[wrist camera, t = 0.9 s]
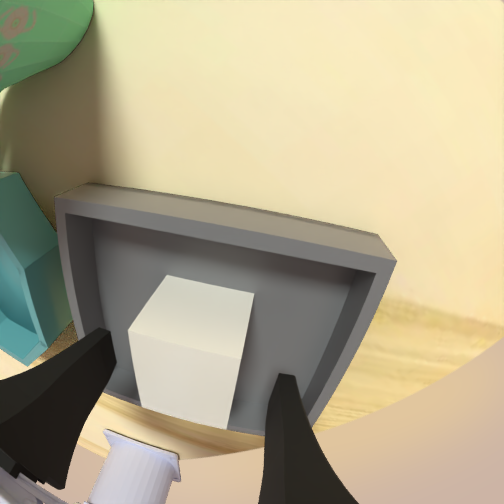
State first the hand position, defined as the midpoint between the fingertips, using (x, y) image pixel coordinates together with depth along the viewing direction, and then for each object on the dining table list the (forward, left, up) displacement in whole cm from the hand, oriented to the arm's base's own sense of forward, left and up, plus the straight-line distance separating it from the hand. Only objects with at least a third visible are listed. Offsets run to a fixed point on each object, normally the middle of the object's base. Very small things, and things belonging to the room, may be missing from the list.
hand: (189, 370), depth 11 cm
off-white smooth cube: (0, 0, -3) cm, 3 cm away
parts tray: (0, 0, -4) cm, 4 cm away
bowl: (0, +15, -4) cm, 15 cm away
